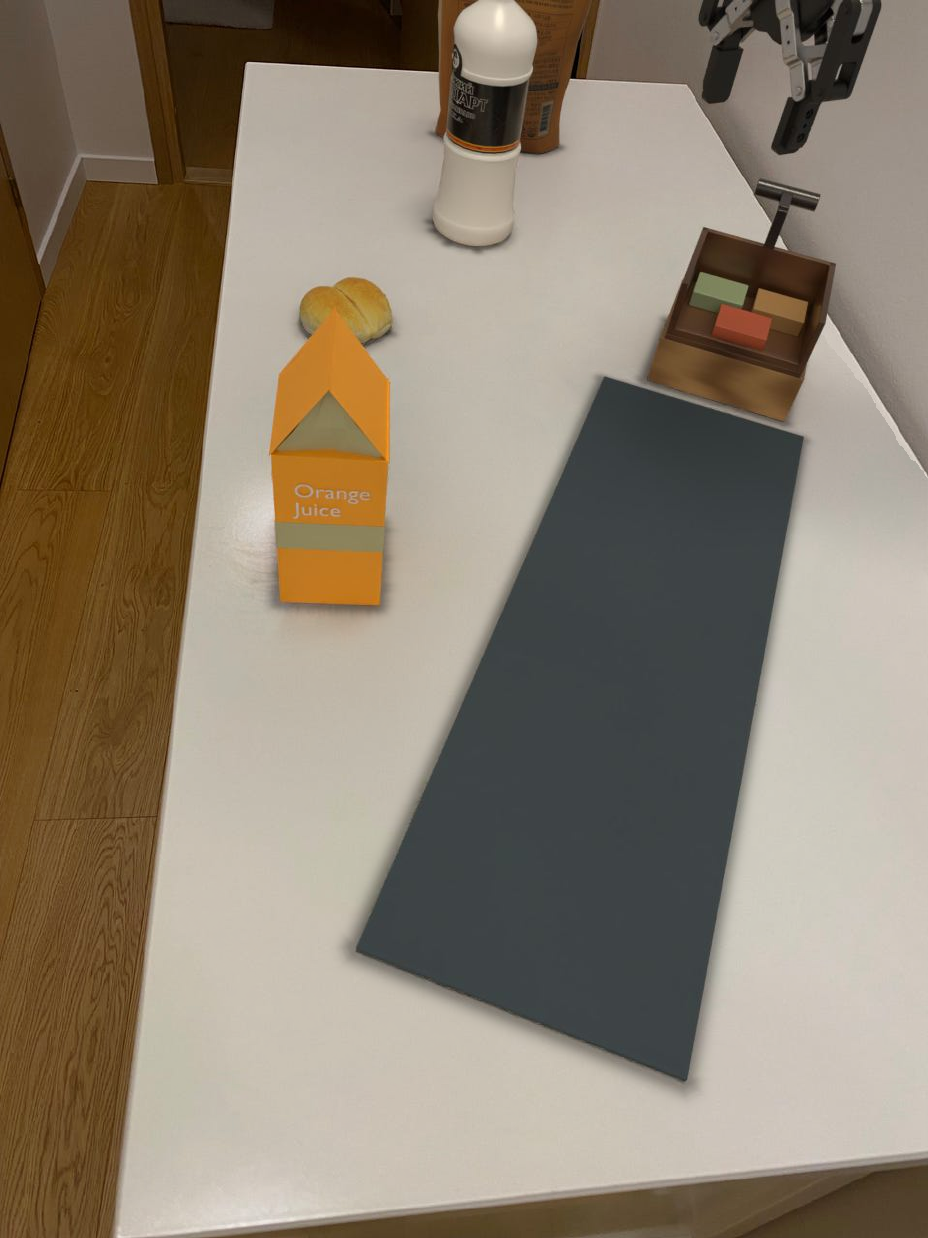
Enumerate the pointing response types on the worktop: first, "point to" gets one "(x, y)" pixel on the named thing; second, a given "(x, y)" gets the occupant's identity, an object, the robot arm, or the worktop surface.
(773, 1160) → the worktop surface
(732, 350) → the wooden box with handle
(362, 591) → the orange juice
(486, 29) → the white bottle
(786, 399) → the stand
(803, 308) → the kraft packet
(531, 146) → the pancake mix bag
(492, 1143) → the worktop surface
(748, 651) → the mat
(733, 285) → the block
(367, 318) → the bread roll
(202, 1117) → the worktop surface
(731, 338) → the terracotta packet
